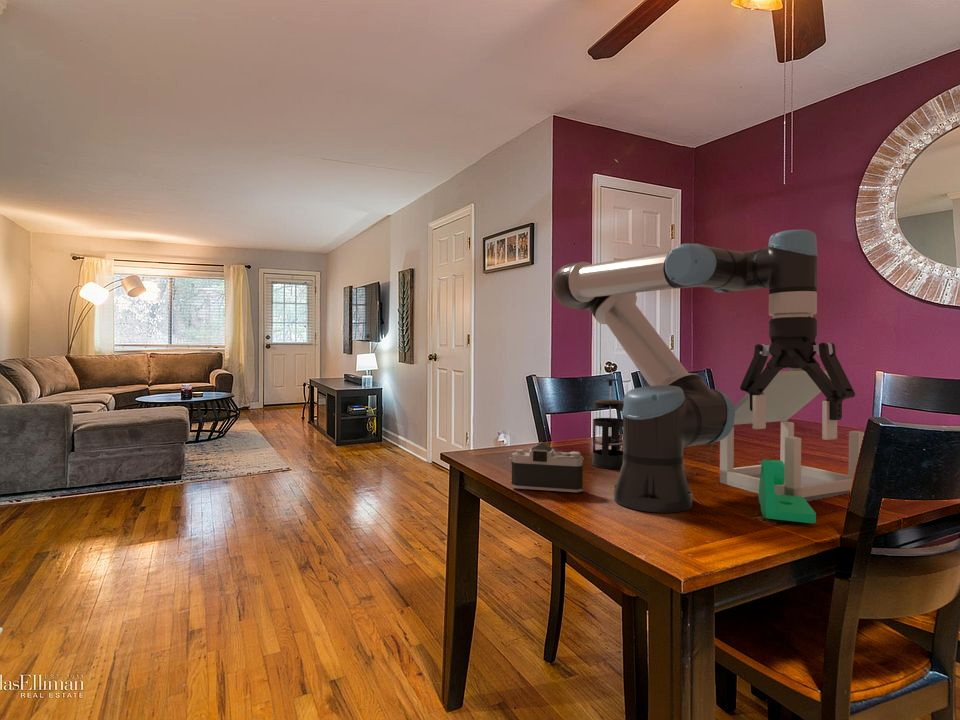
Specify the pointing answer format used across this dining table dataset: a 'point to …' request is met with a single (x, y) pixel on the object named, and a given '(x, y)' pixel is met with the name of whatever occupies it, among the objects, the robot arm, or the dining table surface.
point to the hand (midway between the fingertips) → (792, 433)
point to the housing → (791, 469)
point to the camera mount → (781, 496)
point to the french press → (608, 435)
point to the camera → (547, 469)
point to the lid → (781, 397)
